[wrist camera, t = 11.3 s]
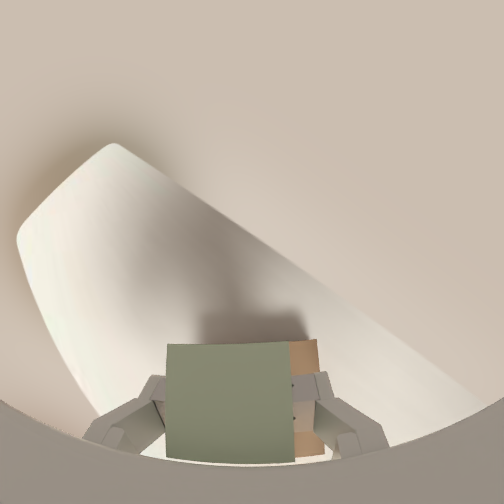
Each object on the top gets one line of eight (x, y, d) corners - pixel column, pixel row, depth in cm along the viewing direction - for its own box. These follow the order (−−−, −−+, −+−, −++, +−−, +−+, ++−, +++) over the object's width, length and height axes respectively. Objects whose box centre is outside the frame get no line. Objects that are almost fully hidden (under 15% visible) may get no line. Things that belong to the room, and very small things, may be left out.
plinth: (312, 346, 22) (316, 338, 19) (319, 447, 17) (324, 454, 14) (207, 352, 22) (197, 345, 20) (208, 450, 18) (198, 457, 15)
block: (284, 368, 15) (288, 340, 8) (287, 431, 13) (295, 461, 6) (217, 370, 15) (167, 343, 8) (218, 433, 13) (166, 457, 6)
